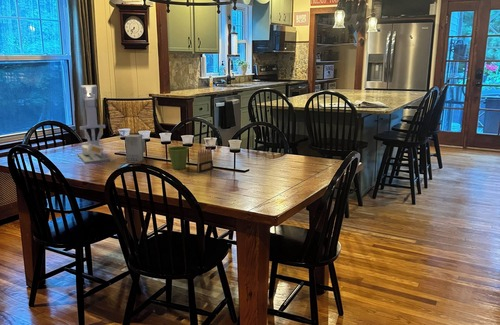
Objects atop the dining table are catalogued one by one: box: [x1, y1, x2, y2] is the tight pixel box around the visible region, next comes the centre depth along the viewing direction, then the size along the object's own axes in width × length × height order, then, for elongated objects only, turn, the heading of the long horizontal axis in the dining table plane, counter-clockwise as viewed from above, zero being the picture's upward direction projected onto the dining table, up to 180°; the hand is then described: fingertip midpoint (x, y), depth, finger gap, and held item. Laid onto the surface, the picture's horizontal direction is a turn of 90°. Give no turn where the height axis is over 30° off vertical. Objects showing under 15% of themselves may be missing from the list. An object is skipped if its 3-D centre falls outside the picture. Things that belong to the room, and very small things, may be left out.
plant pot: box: [167, 145, 190, 170], centre depth 250 cm, size 12×12×11 cm
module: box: [87, 143, 104, 156], centre depth 276 cm, size 5×8×4 cm, turn 119°
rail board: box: [77, 144, 111, 165], centre depth 277 cm, size 26×14×6 cm, turn 29°
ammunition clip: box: [196, 147, 214, 174], centre depth 244 cm, size 11×2×12 cm, turn 142°
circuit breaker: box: [124, 133, 146, 163], centre depth 272 cm, size 8×14×15 cm, turn 174°
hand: (93, 140), depth 277 cm, fingers open, 2 cm apart
